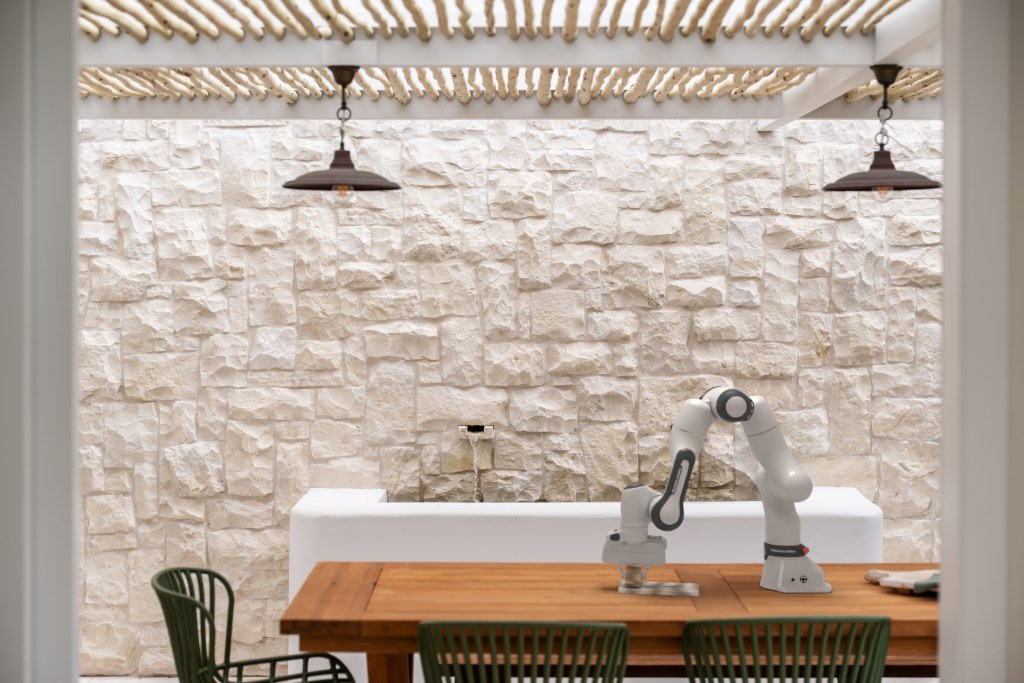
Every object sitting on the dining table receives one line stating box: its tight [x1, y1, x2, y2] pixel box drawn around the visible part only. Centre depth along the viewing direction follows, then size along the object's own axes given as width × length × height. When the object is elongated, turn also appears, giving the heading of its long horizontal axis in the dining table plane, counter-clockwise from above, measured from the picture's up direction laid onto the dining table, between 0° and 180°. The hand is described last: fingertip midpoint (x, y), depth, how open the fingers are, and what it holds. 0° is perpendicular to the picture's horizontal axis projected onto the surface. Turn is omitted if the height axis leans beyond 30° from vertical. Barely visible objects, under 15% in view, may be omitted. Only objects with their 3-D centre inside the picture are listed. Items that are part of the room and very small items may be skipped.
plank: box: [617, 579, 700, 597], centre depth 352 cm, size 25×13×1 cm, turn 82°
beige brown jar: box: [624, 564, 643, 587], centre depth 353 cm, size 5×9×5 cm, turn 172°
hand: (633, 578), depth 353 cm, fingers closed on beige brown jar, 5 cm apart
